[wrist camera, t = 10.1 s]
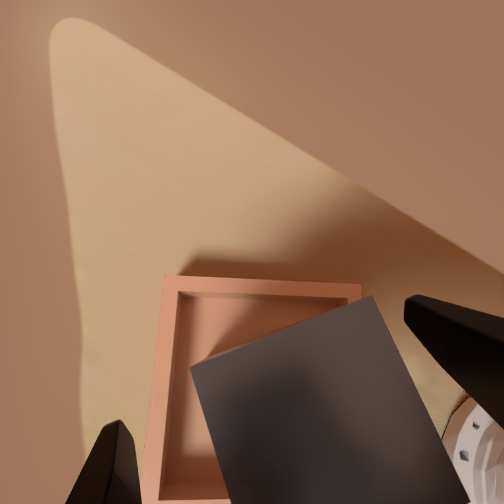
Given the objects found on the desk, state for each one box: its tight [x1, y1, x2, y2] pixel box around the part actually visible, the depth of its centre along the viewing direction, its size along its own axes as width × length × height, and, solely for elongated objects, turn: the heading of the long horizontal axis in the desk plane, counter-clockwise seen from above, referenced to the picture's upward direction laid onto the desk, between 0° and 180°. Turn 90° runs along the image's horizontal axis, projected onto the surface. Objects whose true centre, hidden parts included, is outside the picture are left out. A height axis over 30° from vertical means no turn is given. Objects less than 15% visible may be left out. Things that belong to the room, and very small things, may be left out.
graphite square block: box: [190, 295, 471, 504], centre depth 12 cm, size 4×4×11 cm
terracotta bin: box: [140, 275, 362, 504], centre depth 16 cm, size 11×11×2 cm
